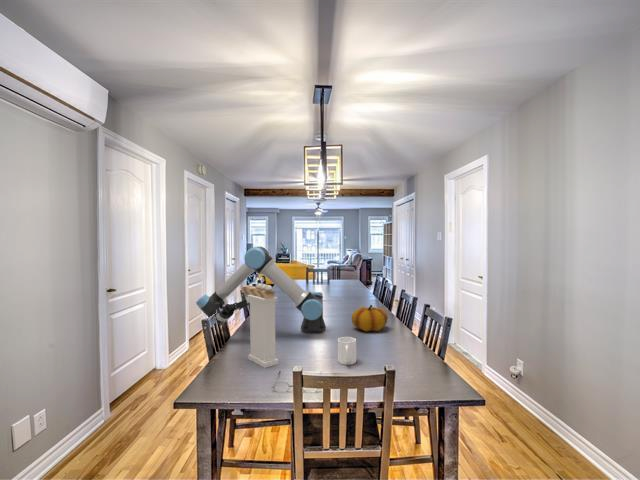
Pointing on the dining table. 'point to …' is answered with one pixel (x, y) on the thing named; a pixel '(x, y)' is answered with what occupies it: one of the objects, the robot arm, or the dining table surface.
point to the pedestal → (262, 331)
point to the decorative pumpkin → (369, 318)
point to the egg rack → (259, 290)
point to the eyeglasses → (286, 383)
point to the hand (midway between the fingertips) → (240, 297)
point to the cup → (346, 350)
